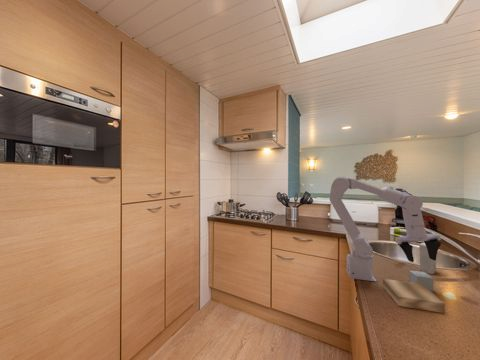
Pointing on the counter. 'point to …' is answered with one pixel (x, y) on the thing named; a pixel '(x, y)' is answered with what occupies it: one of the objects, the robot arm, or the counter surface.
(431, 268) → the skincare box
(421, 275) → the grey cube
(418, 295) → the oak base
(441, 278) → the counter surface
